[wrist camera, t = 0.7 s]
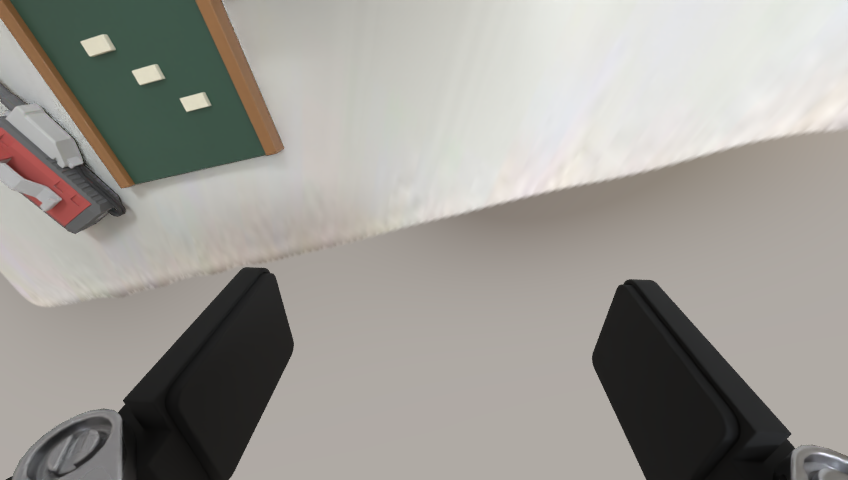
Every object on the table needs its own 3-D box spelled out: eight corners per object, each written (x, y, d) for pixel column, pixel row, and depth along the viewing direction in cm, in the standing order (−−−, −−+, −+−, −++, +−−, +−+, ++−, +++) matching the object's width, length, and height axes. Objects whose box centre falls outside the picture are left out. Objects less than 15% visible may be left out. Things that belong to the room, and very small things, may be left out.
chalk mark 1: (84, 41, 29) (79, 41, 29) (107, 34, 29) (102, 34, 28) (94, 56, 30) (89, 56, 29) (116, 49, 29) (111, 50, 29)
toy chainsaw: (145, 199, 38) (-46, 21, 30) (112, 215, 34) (-118, 17, 26) (102, 232, 41) (-84, 78, 33) (67, 252, 37) (-154, 81, 29)
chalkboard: (-20, -43, 27) (-48, -49, 26) (171, -117, 25) (153, -128, 23) (134, 182, 37) (121, 188, 35) (284, 148, 34) (277, 153, 33)
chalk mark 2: (135, 70, 30) (130, 70, 30) (157, 64, 30) (153, 64, 29) (143, 84, 31) (139, 85, 30) (165, 78, 30) (161, 79, 30)
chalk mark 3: (182, 97, 31) (179, 98, 31) (205, 91, 31) (201, 92, 30) (189, 111, 32) (186, 112, 31) (211, 105, 31) (208, 106, 31)
